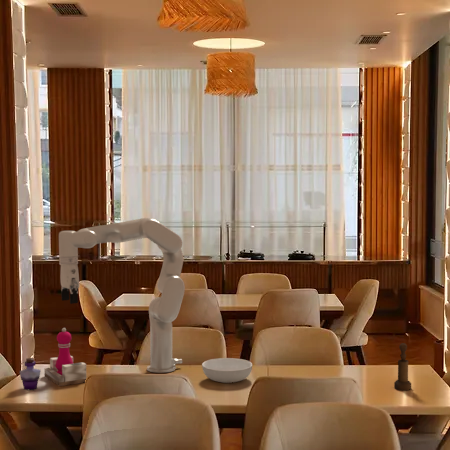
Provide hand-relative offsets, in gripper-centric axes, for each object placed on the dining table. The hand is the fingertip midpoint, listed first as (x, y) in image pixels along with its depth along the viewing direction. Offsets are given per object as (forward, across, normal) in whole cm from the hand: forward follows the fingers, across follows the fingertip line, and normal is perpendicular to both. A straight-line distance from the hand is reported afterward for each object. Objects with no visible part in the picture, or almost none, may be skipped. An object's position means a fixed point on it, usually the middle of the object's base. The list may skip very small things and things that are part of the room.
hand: (69, 301), depth 318 cm
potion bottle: (+32, -6, +19) cm, 38 cm away
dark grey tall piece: (+34, -85, -106) cm, 140 cm away
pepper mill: (+31, +1, +3) cm, 31 cm away
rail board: (+32, 0, +2) cm, 32 cm away
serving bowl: (+33, -37, -54) cm, 73 cm away
